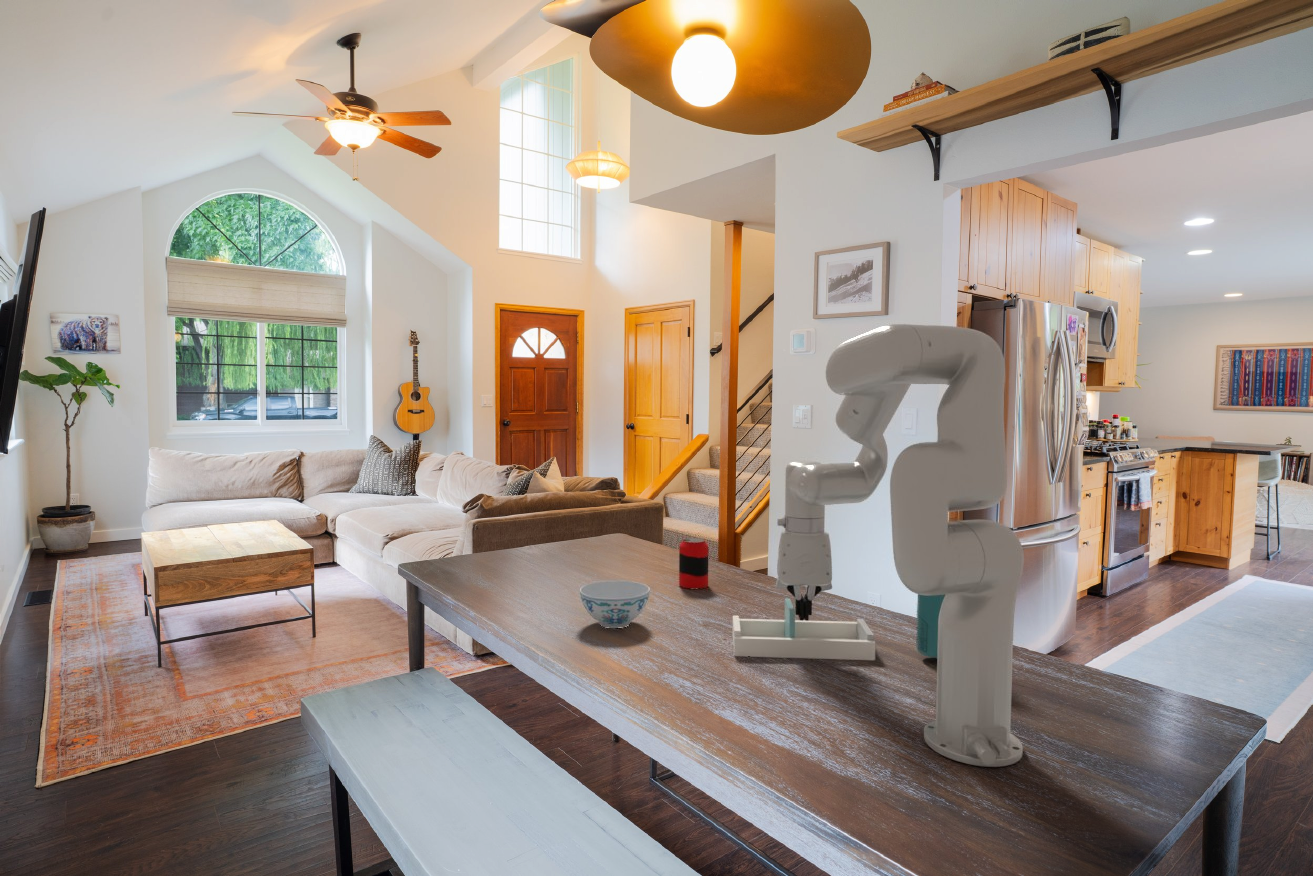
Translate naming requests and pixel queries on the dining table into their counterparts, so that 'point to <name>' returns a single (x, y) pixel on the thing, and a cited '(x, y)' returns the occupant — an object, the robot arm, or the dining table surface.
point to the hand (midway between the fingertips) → (803, 618)
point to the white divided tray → (803, 639)
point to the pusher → (789, 619)
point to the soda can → (693, 563)
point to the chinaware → (614, 601)
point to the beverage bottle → (928, 624)
